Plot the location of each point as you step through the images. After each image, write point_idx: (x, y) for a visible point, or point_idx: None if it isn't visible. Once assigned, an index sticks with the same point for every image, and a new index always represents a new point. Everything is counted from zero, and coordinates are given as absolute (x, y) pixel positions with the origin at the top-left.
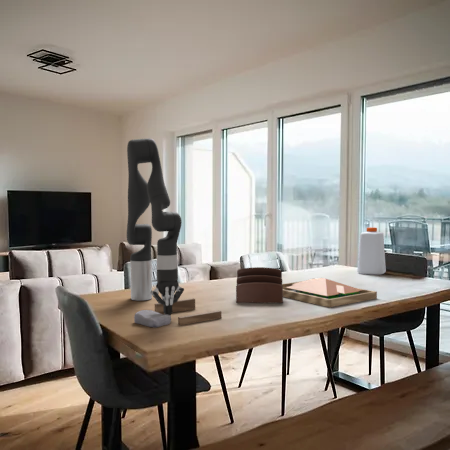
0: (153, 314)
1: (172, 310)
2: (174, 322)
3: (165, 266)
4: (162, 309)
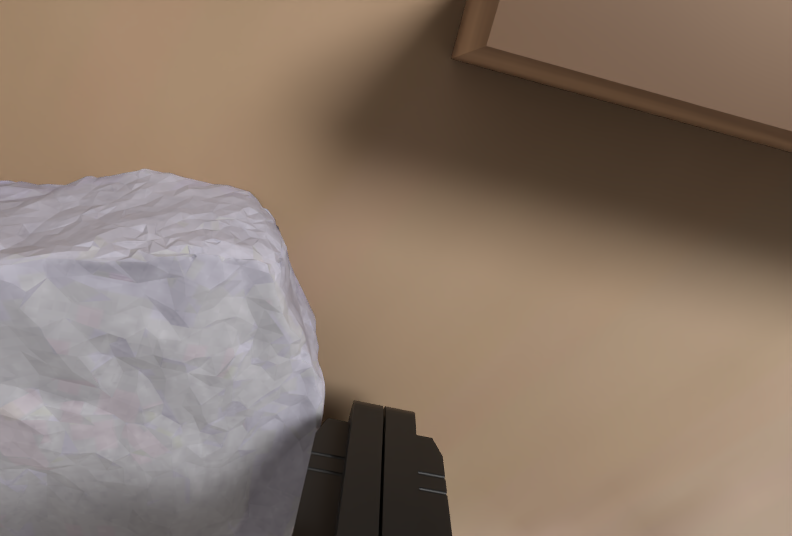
0: (53, 495)
1: (776, 145)
2: None
3: None
4: (599, 94)
